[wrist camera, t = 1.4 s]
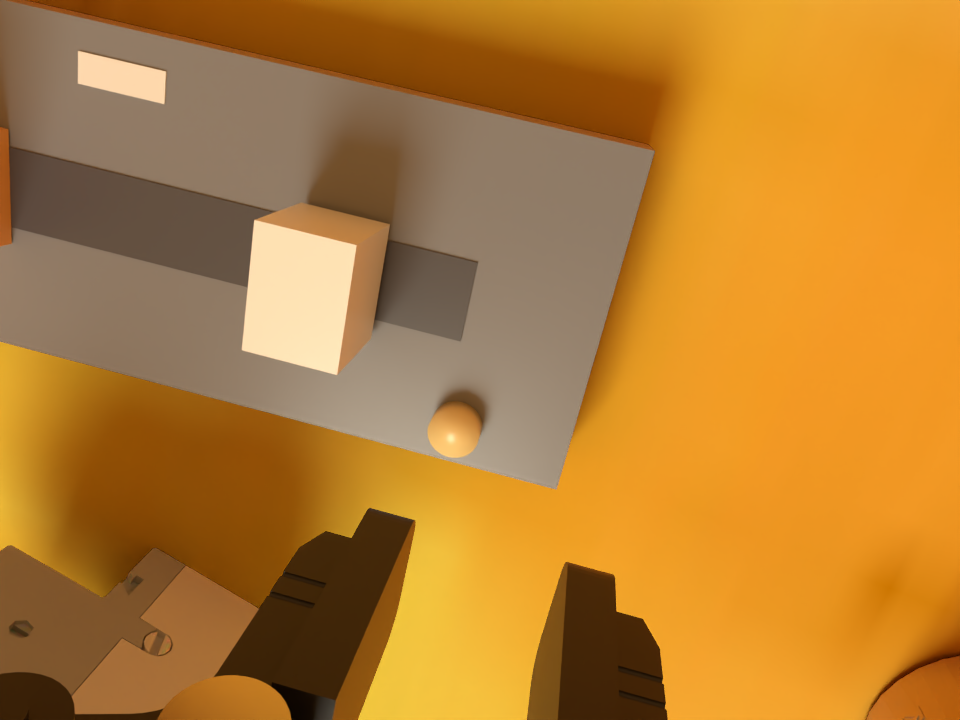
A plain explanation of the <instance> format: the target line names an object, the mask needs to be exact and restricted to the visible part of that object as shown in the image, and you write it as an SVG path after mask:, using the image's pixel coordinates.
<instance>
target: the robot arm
mask: <svg viewBox="0 0 960 720" xmlns="http://www.w3.org/2000/svg"><path fill="white" fill-rule="evenodd" d="M414 530H415V520H412V519H408V518H404V517H401V516H397V515H393V514H390V513H386V512H382V511H379V510H375V509H371V508H369V509H368V510H367V512H366V513H365V515H364V517H363V519H362V520H361V522H360V524H359V526H358V528H357V529H356V531H355V533H354V535H353V537H352V538H348V537H345V536H341V535H338V534H334V533H330V532H327V531H325V532H324V533H322V534H321V535H319V536H317V537H316V538H314V539H312V540H311V541H309V542H308V543H306V544H304V545H303V546H301V547H300V548H299V549H298V550H297V552H296V553H295V555H294V556H293V558H292V559H291V561H290V563H289V564H288V566H287V567H286V569H285V570H284V572H283V575H282V576H280V578H279V579H278V581H277V582H276V584H275V585H274V587H273V588H272V590H271V592H270V595H269V596H267V597H266V599H265V600H264V602H263V604H262V605H261V607H260V608H259V610H258V611H257V613H256V614H255V616H254V617H253V619H252V620H251V622H250V623H249V625H248V626H247V628H246V629H245V631H244V632H243V634H242V635H241V637H240V638H239V640H238V641H237V643H236V645H235V646H234V648H233V649H232V651H231V652H230V654H229V655H228V657H227V658H226V660H225V661H224V663H223V664H222V666H221V667H220V669H219V670H218V672H217V673H216V674H215V676H214V677H212V678H208V679H205V680H202V681H199V682H197V683H195V684H192V685H190V686H189V687H187V688H185V689H184V690H182V691H181V692H179V693H178V694H177V695H176V696H174V697H173V698H172V699H171V700H170V701H169V703H168V704H167V705H166V706H165V707H164V708H163V709H160V710H157V711H151V712H145V713H134V714H75V707H74V702H73V699H72V696H71V694H70V693H69V691H68V690H67V688H65V687H64V686H63V685H62V684H61V683H60V682H58V681H56V680H54V679H53V678H51V677H48V676H45V675H42V674H36V673H30V672H12V673H3V674H0V720H358V717H359V715H360V712H361V710H362V707H363V704H364V702H365V699H366V697H367V694H368V691H369V689H370V686H371V684H372V681H373V678H374V676H375V673H376V671H377V668H378V665H379V663H380V660H381V658H382V655H383V652H384V650H385V647H386V645H387V642H388V639H389V636H390V633H391V630H392V627H393V624H394V620H395V617H396V613H397V609H398V605H399V601H400V596H401V592H402V587H403V582H404V577H405V573H406V568H407V563H408V559H409V554H410V549H411V544H412V540H413V535H414ZM662 679H663V675H662V666H661V657H660V648H659V646H658V645H657V643H656V641H655V639H654V638H653V636H652V634H651V633H650V631H649V629H648V627H647V626H646V624H645V622H644V620H643V619H641V618H637V617H634V616H630V615H626V614H623V613H619V612H616V591H615V577H614V575H612V574H609V573H605V572H601V571H598V570H594V569H590V568H587V567H583V566H579V565H576V564H572V563H568V562H566V563H565V564H564V567H563V569H562V572H561V575H560V578H559V581H558V585H557V588H556V591H555V594H554V598H553V601H552V604H551V607H550V611H549V614H548V617H547V620H546V623H545V627H544V630H543V633H542V636H541V640H540V643H539V647H538V651H537V655H536V659H535V664H534V669H533V675H532V681H531V689H530V697H529V706H528V715H527V720H667V711H666V709H665V704H666V702H665V693H664V684H662ZM867 720H960V656H956V657H952V658H947V659H942V660H939V661H937V662H934V663H931V664H929V665H926V666H923V667H921V668H918V669H917V670H915V671H913V672H912V673H910V674H908V675H906V676H905V677H903V678H901V679H900V680H898V681H897V682H896V683H895V684H893V685H892V686H891V687H890V688H889V689H888V690H887V691H885V692H884V693H883V694H882V695H881V696H880V698H879V699H878V701H877V702H876V703H875V705H874V706H873V707H872V709H871V710H870V712H869V715H868V717H867Z"/></svg>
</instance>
